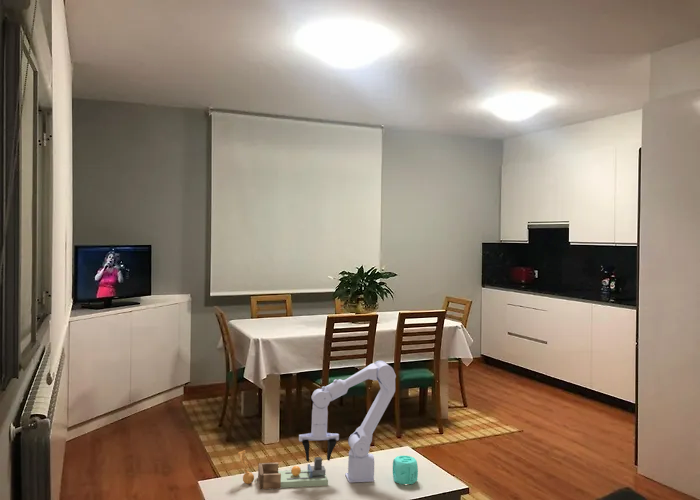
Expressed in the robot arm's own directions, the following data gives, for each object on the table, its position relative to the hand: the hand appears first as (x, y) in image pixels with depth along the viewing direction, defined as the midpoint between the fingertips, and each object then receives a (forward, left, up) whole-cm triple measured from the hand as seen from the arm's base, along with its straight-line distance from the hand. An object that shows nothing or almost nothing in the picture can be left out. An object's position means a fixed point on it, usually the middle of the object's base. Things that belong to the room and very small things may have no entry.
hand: (317, 459), depth 214 cm
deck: (+5, 0, -8) cm, 9 cm away
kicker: (0, 0, -6) cm, 6 cm away
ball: (+8, 0, -4) cm, 9 cm away
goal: (+17, 0, -8) cm, 19 cm away
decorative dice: (-32, +4, -8) cm, 33 cm away
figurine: (+26, 0, -8) cm, 27 cm away
